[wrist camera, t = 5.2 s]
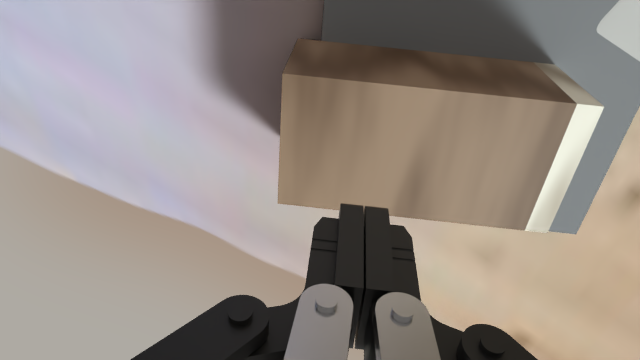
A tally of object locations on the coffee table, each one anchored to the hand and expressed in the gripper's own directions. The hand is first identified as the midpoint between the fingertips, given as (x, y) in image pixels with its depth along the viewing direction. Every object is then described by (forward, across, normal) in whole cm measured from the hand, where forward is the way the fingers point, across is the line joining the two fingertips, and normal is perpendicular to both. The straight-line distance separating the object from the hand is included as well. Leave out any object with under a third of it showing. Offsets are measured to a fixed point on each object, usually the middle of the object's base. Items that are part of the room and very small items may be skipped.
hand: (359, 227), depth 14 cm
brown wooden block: (+7, +3, 0) cm, 8 cm away
